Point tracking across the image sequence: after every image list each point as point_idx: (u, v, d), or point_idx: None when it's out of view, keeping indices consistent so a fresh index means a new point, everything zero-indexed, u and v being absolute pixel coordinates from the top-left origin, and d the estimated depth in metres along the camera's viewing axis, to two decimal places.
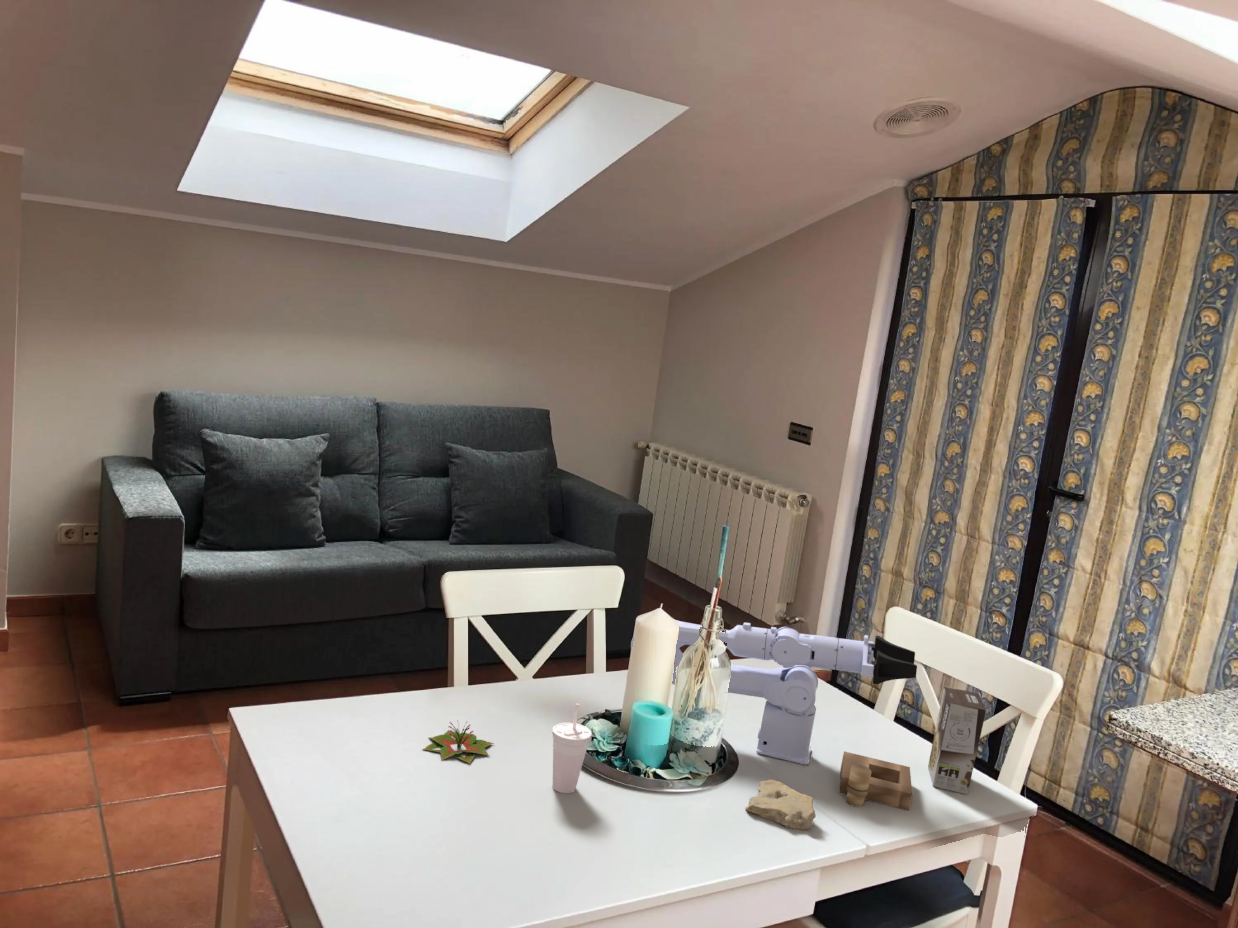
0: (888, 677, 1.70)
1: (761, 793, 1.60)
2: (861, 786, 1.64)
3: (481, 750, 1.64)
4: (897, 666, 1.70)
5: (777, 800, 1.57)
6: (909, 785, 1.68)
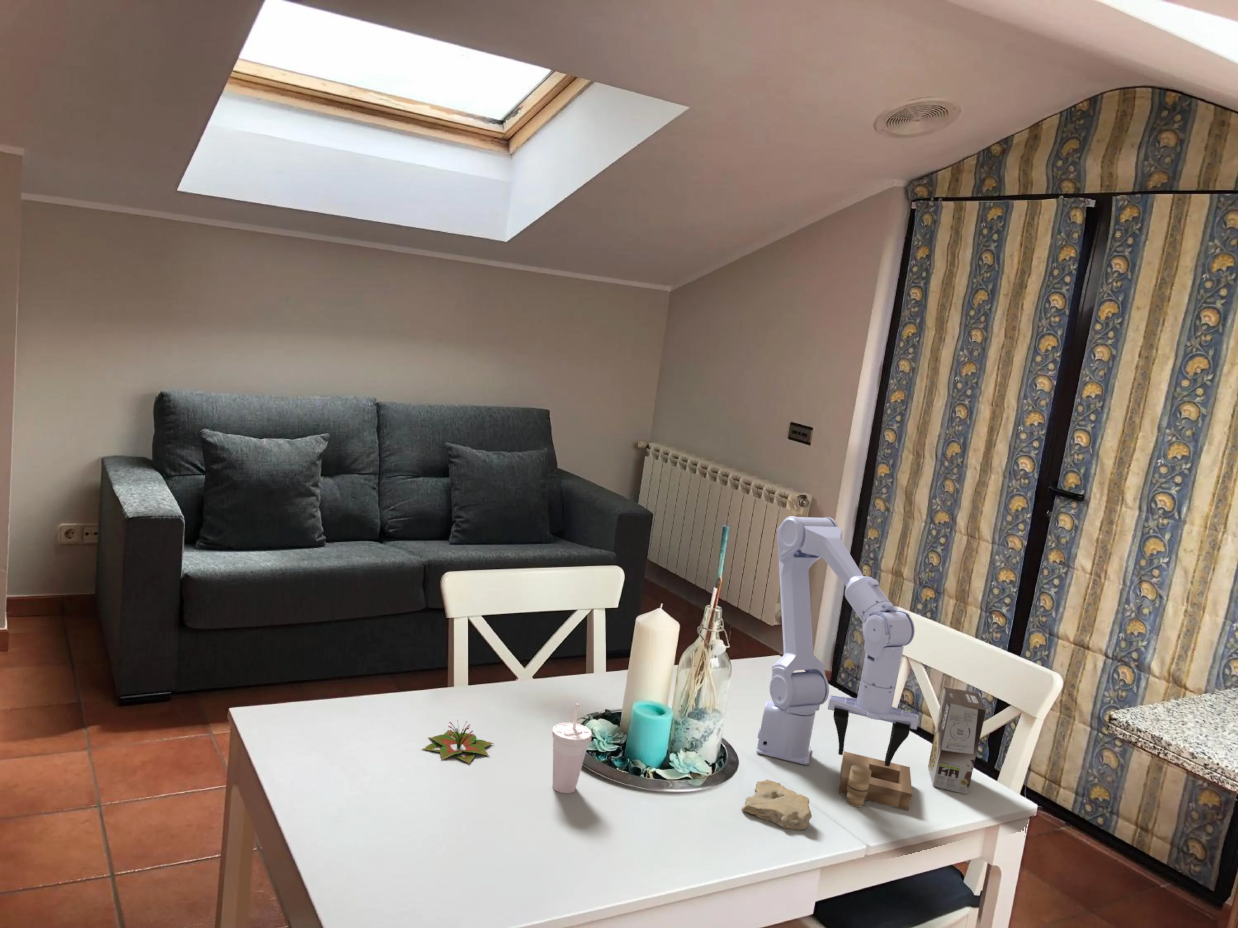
0: None
1: (757, 793, 1.60)
2: (861, 786, 1.64)
3: (481, 750, 1.64)
4: None
5: (773, 800, 1.57)
6: (909, 785, 1.68)
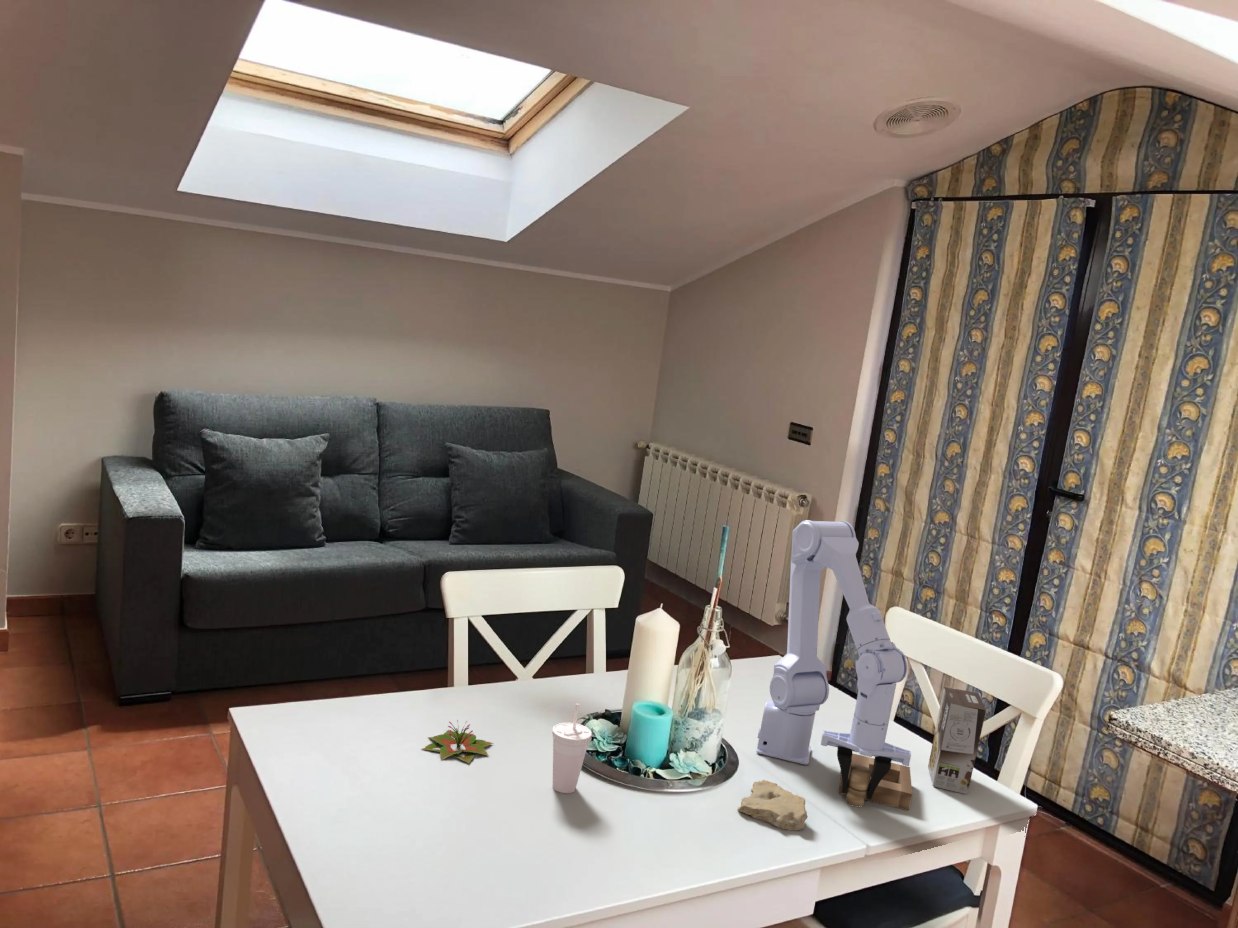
0: None
1: (754, 794, 1.59)
2: (861, 786, 1.64)
3: (480, 750, 1.64)
4: None
5: (769, 801, 1.57)
6: (909, 785, 1.68)
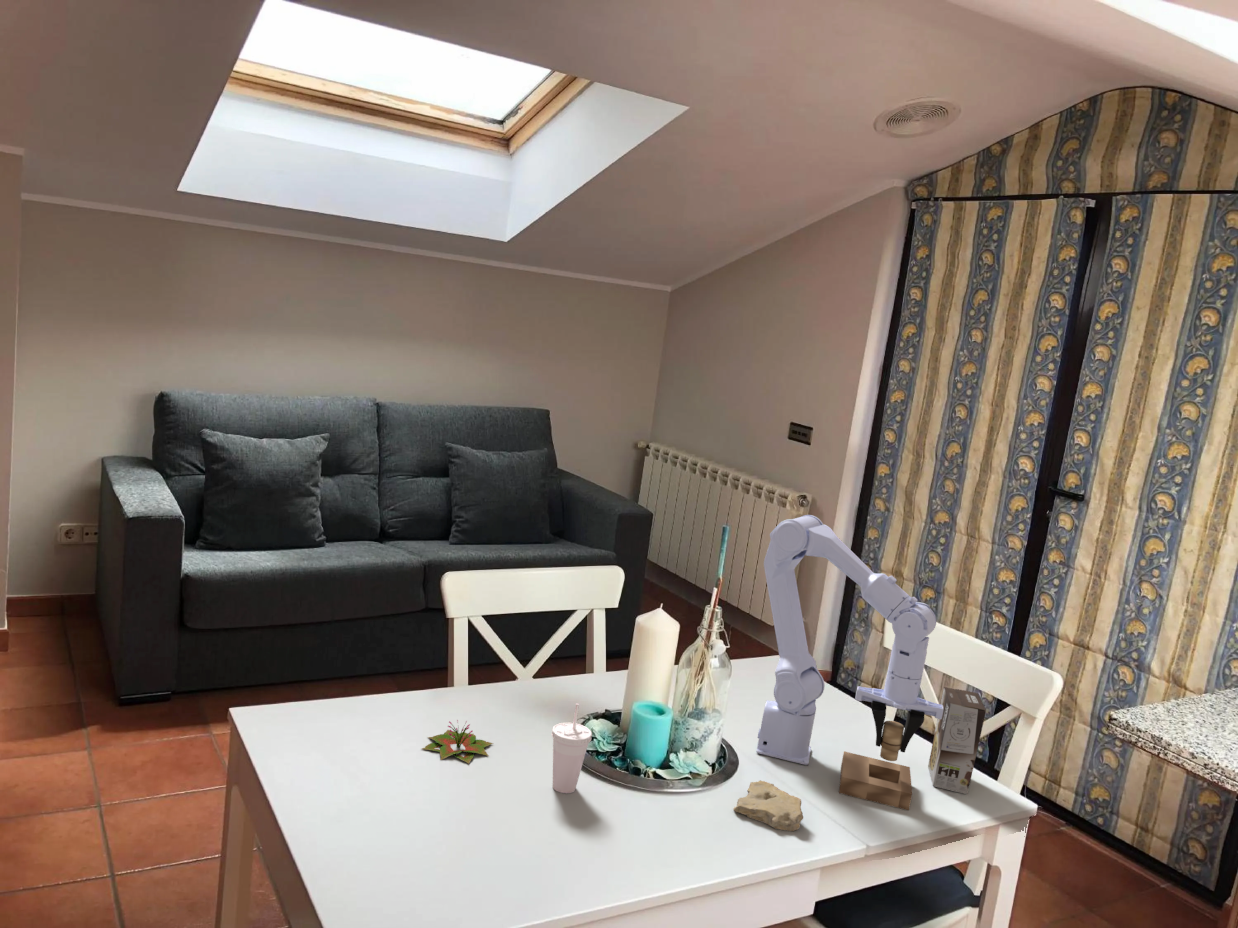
0: None
1: (750, 794, 1.59)
2: (894, 740, 1.69)
3: (480, 750, 1.64)
4: None
5: (765, 801, 1.57)
6: (909, 785, 1.68)
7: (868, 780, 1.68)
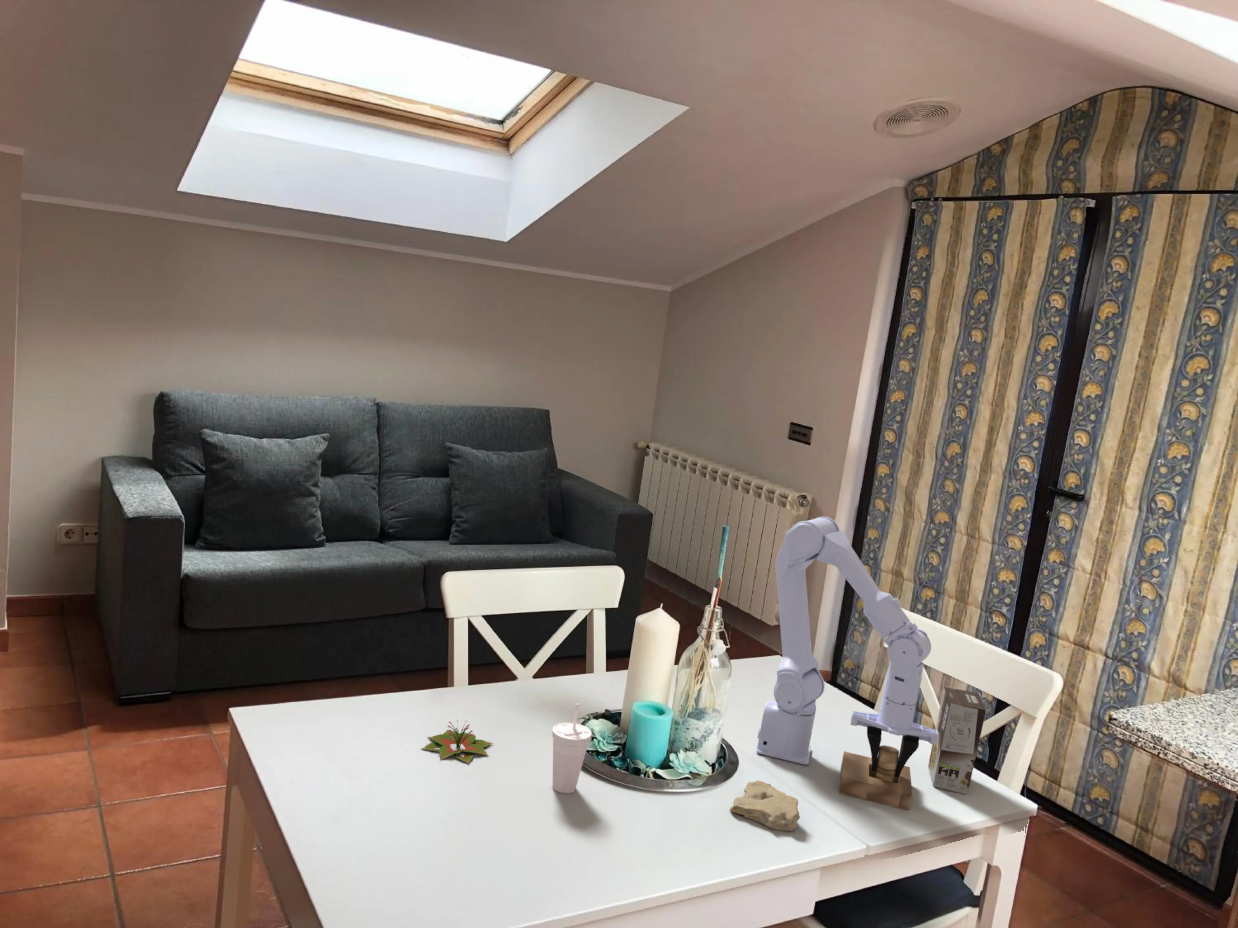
0: None
1: (747, 794, 1.59)
2: (889, 766, 1.69)
3: (480, 750, 1.64)
4: None
5: (762, 801, 1.56)
6: (909, 785, 1.68)
7: (868, 780, 1.68)
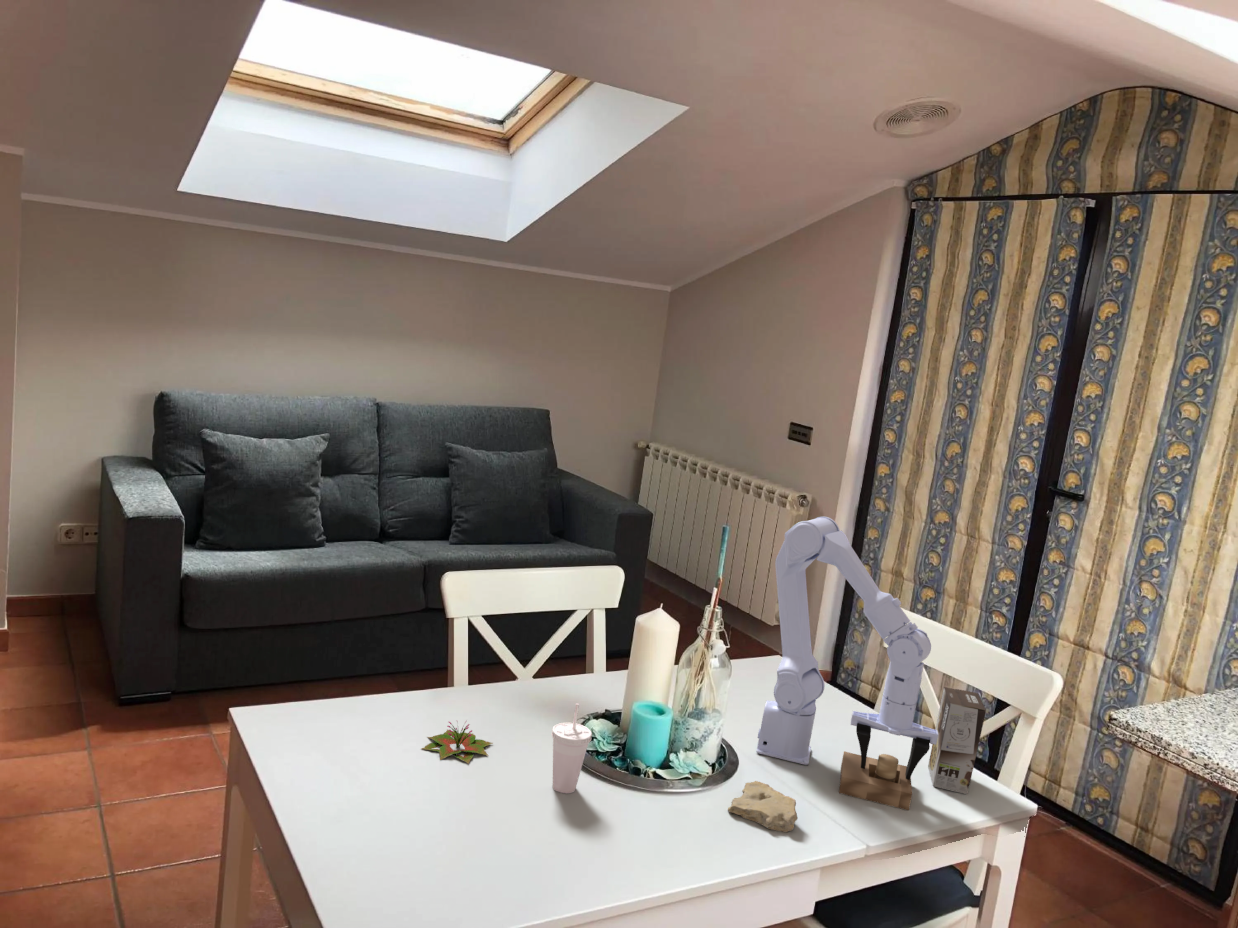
0: None
1: (745, 794, 1.59)
2: (888, 774, 1.70)
3: (480, 750, 1.64)
4: None
5: (760, 801, 1.56)
6: (909, 785, 1.68)
7: (868, 780, 1.68)
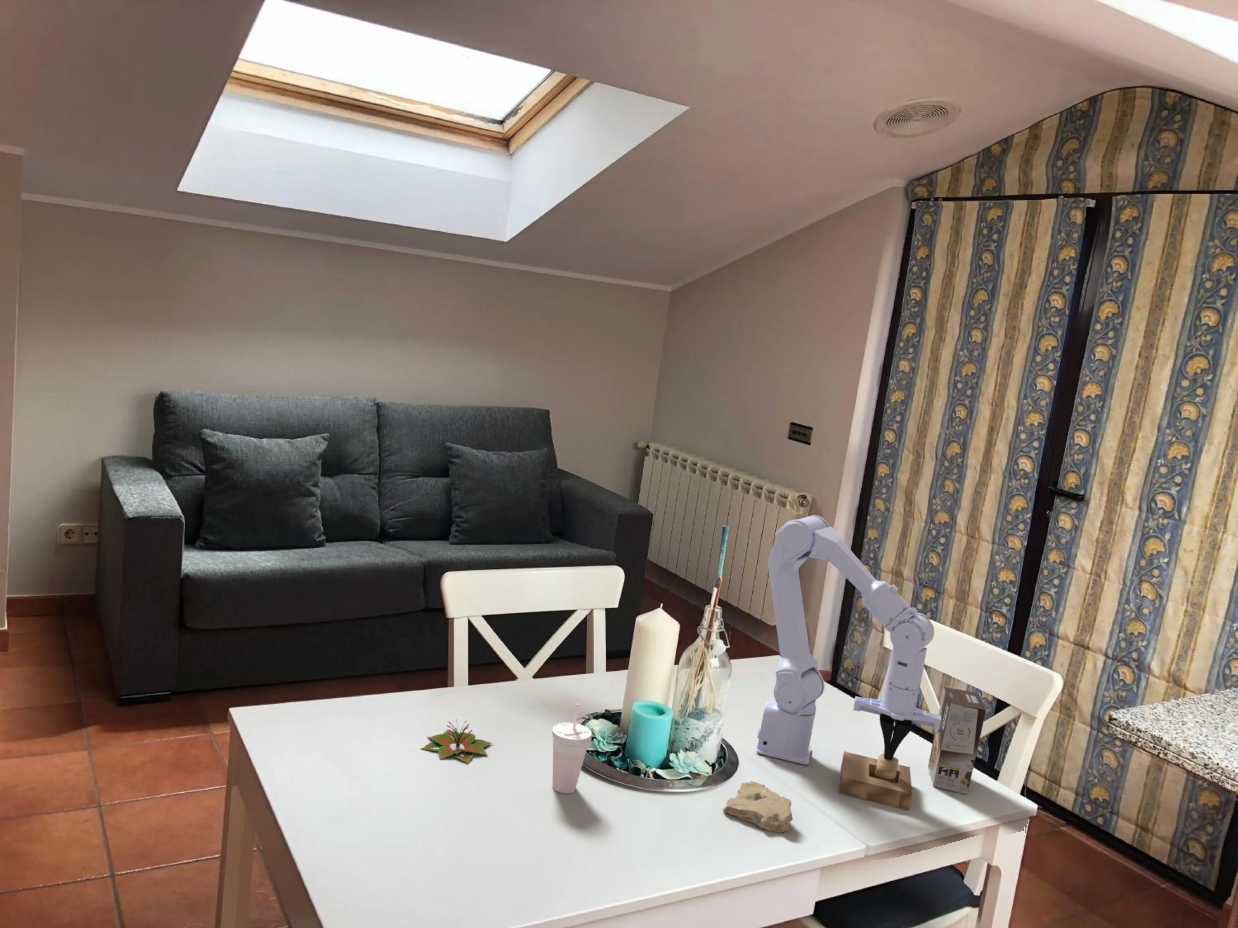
0: None
1: (740, 795, 1.58)
2: (888, 774, 1.70)
3: (480, 750, 1.64)
4: None
5: (755, 802, 1.56)
6: (909, 785, 1.68)
7: (868, 780, 1.68)
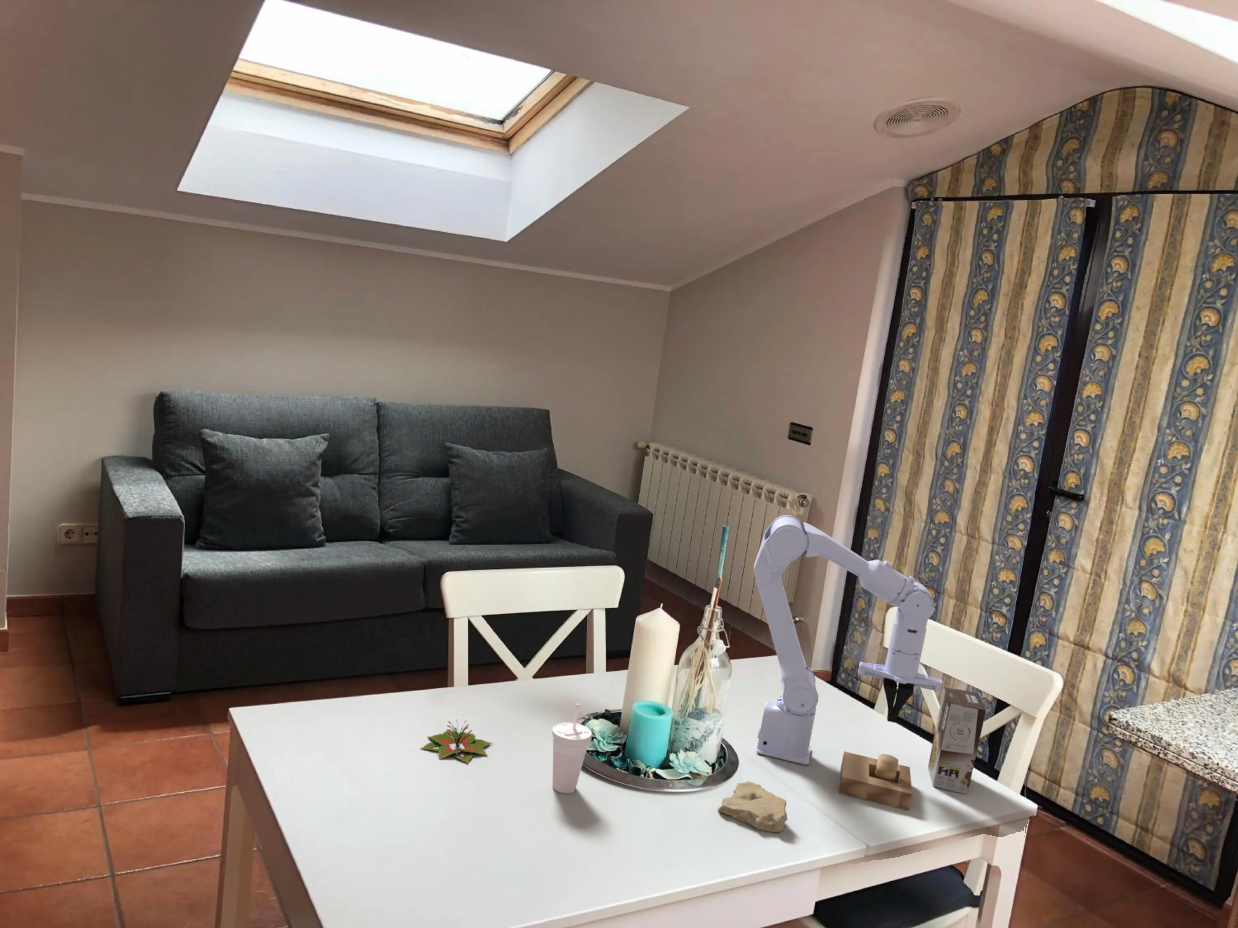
0: None
1: (735, 794, 1.58)
2: (888, 774, 1.70)
3: (479, 750, 1.64)
4: None
5: (750, 802, 1.56)
6: (909, 785, 1.68)
7: (868, 780, 1.68)
